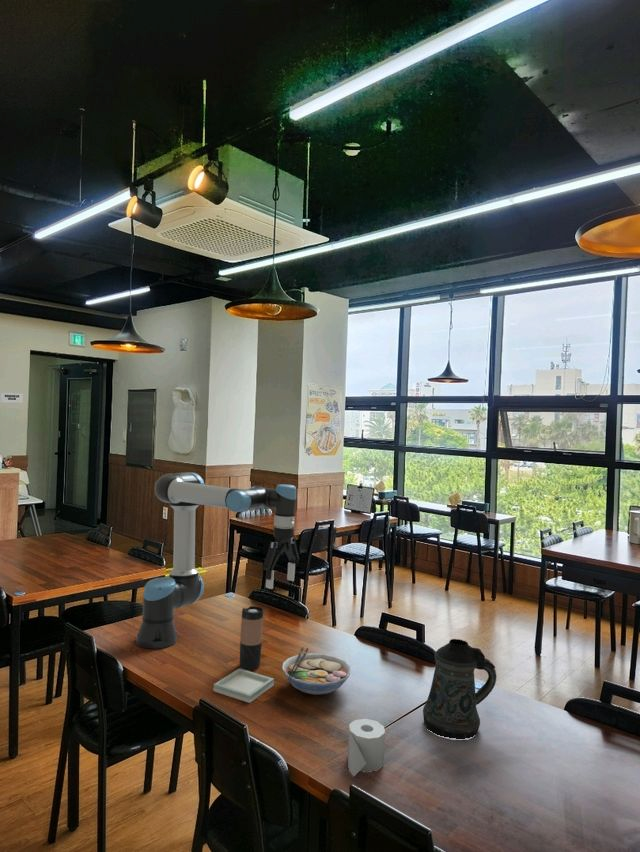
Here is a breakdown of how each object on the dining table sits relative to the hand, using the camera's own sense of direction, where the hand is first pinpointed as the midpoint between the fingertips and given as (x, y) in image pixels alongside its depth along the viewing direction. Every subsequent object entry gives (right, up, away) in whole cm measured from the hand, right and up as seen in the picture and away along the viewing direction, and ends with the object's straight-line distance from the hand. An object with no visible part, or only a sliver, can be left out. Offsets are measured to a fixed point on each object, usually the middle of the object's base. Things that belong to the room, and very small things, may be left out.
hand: (280, 584), depth 203 cm
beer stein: (+55, -30, -40) cm, 74 cm away
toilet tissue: (+26, -29, -62) cm, 73 cm away
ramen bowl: (+13, -28, -23) cm, 39 cm away
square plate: (-10, -27, -24) cm, 37 cm away
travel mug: (-10, -27, -7) cm, 30 cm away
